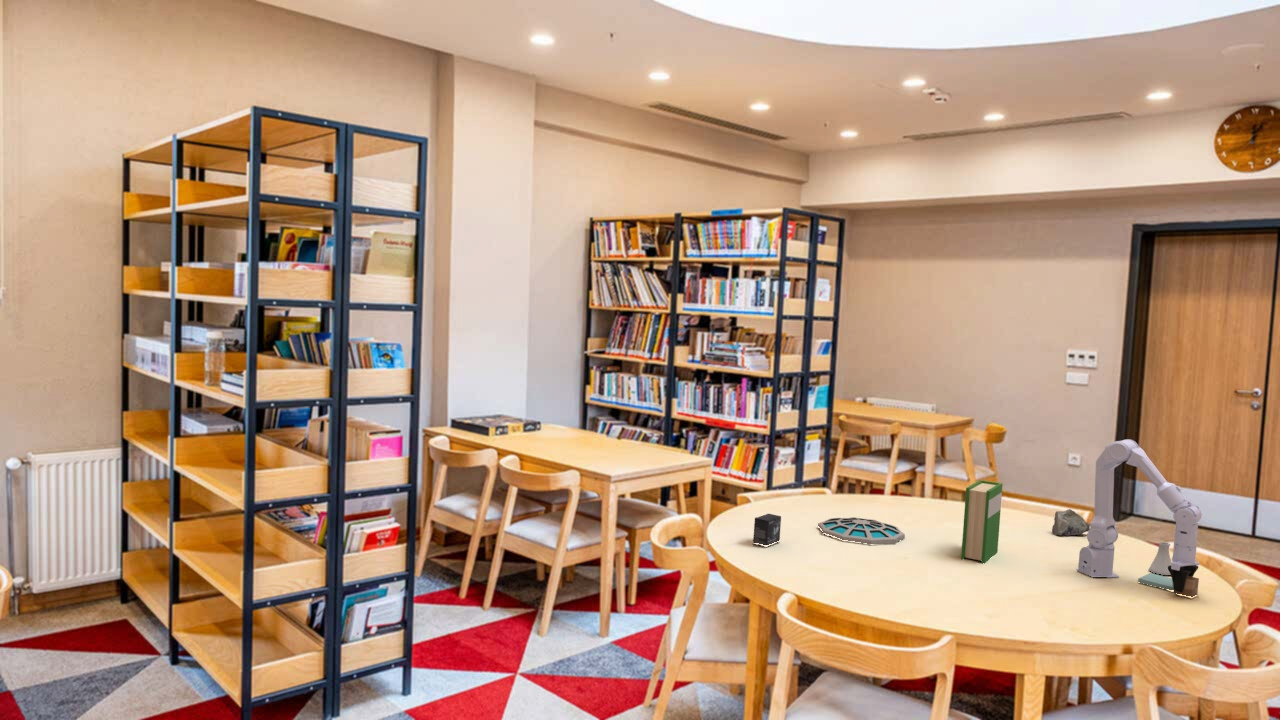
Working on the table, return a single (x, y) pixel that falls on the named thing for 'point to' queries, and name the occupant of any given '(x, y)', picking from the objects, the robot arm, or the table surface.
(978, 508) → the hardback book
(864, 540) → the grey teal dome window
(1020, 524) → the table surface
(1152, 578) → the base board
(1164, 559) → the flask
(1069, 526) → the mineral rock
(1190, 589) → the walnut block
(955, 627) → the table surface
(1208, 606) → the table surface
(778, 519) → the box
